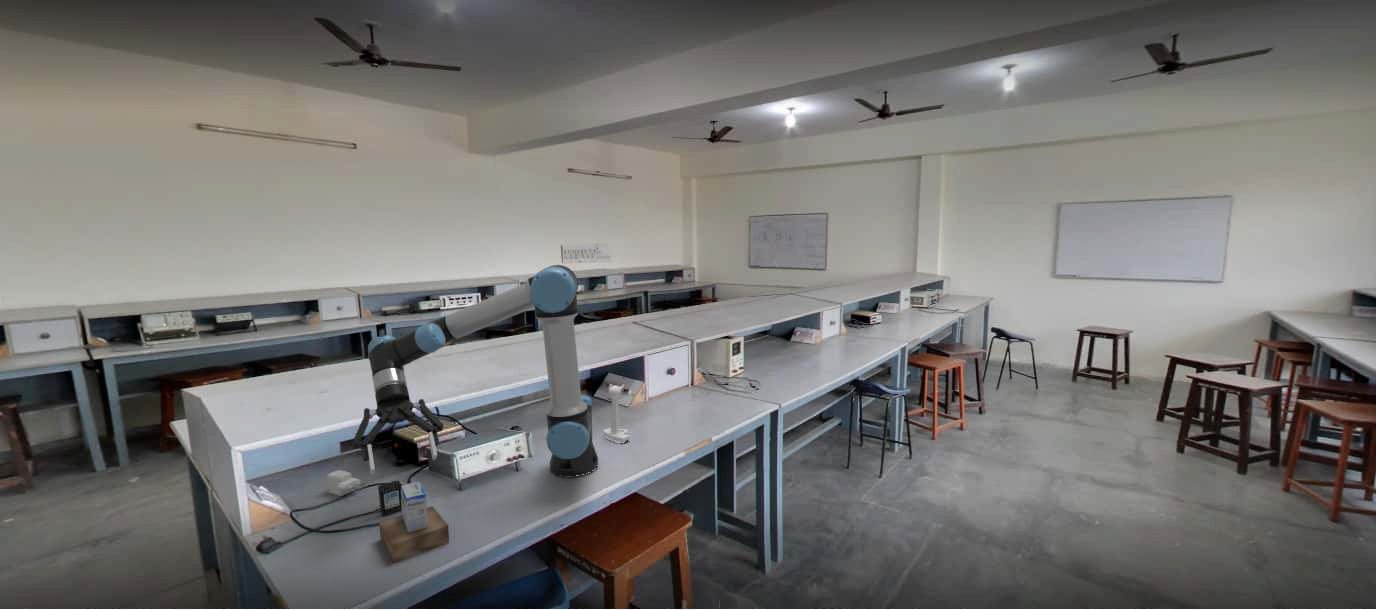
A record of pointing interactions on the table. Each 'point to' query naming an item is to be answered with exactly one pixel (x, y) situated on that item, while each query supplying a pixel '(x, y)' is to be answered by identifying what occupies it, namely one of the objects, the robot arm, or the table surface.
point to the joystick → (615, 418)
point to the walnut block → (413, 536)
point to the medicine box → (414, 507)
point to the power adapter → (341, 483)
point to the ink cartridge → (390, 498)
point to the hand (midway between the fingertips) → (404, 464)
